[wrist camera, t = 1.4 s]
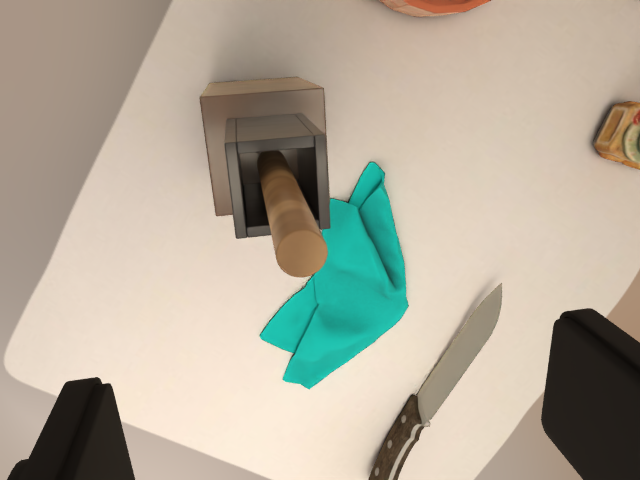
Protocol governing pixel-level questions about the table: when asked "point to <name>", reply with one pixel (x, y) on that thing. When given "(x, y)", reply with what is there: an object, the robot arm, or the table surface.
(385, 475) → the knife
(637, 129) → the ornament
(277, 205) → the stick
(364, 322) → the cloth
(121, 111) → the table surface
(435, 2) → the bowl
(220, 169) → the utensil stand
